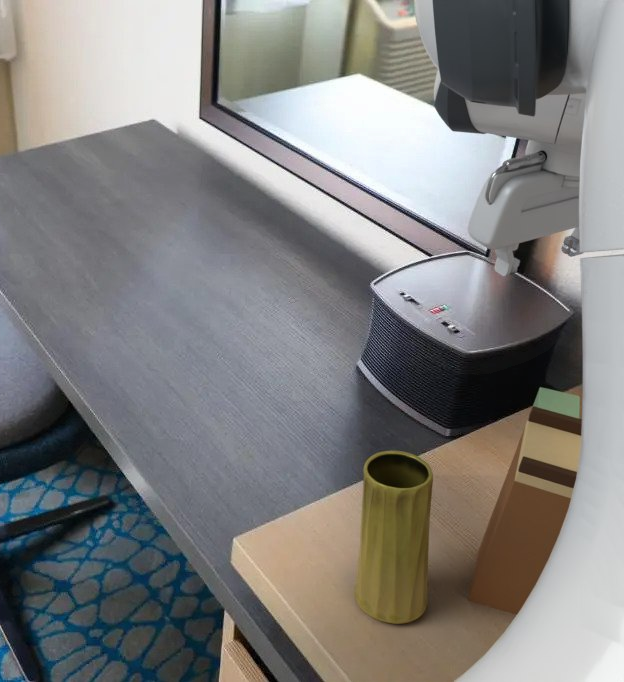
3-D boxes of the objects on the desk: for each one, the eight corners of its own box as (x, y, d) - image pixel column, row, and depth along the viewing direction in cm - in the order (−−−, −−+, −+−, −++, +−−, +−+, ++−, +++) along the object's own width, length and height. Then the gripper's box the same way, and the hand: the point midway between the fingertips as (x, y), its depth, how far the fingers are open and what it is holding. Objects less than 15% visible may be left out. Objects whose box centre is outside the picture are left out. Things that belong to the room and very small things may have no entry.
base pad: (525, 627, 67) (595, 482, 56) (465, 605, 69) (522, 460, 58) (534, 569, 72) (600, 423, 61) (478, 549, 74) (532, 405, 63)
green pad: (570, 440, 84) (579, 419, 82) (529, 430, 86) (538, 408, 84) (571, 417, 87) (580, 396, 85) (531, 408, 88) (540, 386, 87)
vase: (433, 627, 66) (445, 494, 59) (357, 623, 67) (361, 493, 61) (420, 574, 71) (431, 446, 65) (350, 571, 73) (354, 446, 66)
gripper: (519, 176, 73) (483, 299, 81) (680, 136, 78) (631, 255, 86) (471, 151, 77) (442, 270, 86) (626, 115, 83) (585, 230, 91)
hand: (538, 262), depth 86 cm, fingers open, 8 cm apart
